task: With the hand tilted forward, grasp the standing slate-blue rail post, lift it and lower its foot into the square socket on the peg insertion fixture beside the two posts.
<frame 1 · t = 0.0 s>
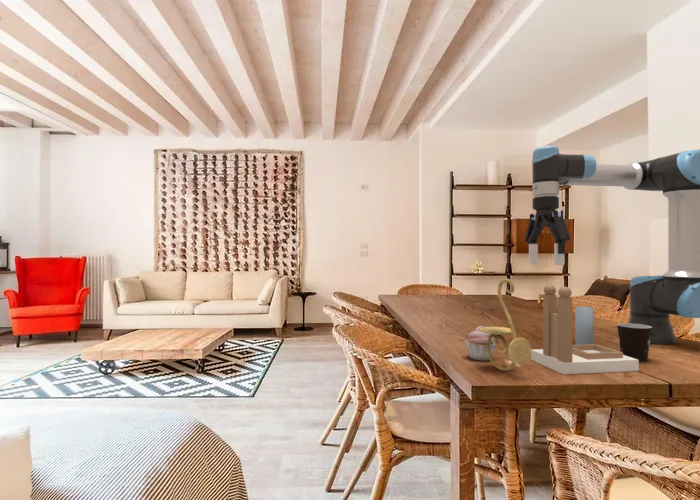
hand: (545, 264, 132), 28 cm above the table, tool pointing down, fingers open, 13 cm apart
coffee mug: (637, 359, 126), on the table
cupcake: (480, 359, 126), on the table
peg insertion fixture: (582, 365, 119), on the table
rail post: (584, 351, 135), on the table
wall sconce: (502, 371, 113), on the table
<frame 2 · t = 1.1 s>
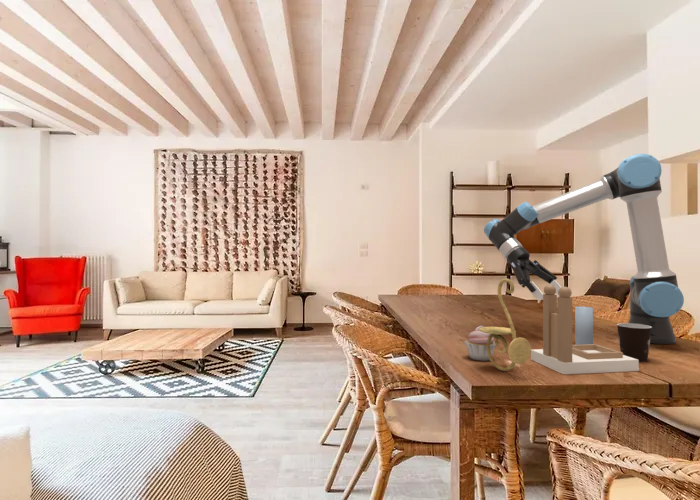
hand: (553, 297, 144), 16 cm above the table, tool tilted 45°, fingers open, 13 cm apart
nothing on the table moved.
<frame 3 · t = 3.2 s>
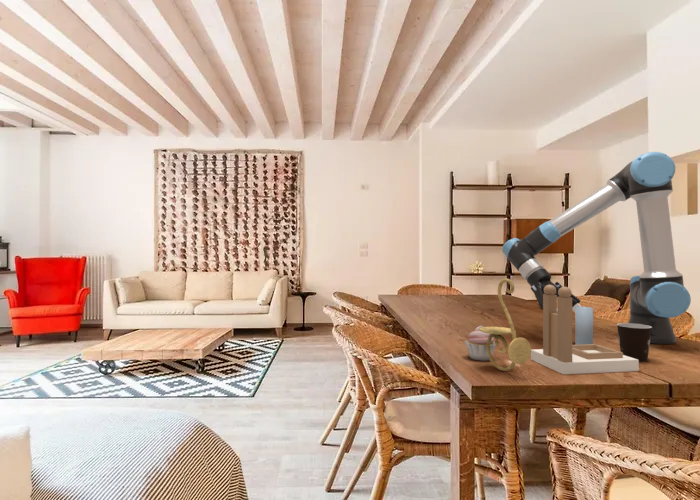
hand: (577, 323, 137), 9 cm above the table, tool tilted 45°, fingers open, 13 cm apart
nothing on the table moved.
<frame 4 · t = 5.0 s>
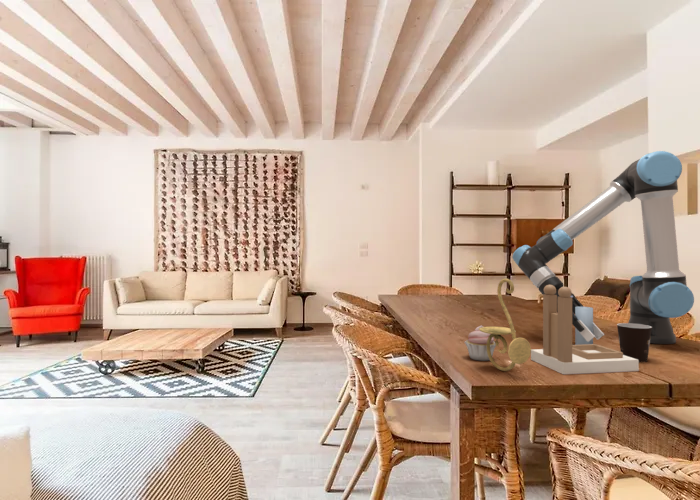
hand: (596, 338, 132), 5 cm above the table, tool tilted 45°, fingers closed on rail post, 5 cm apart
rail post: (584, 351, 135), on the table, touching gripper
everything else where it was.
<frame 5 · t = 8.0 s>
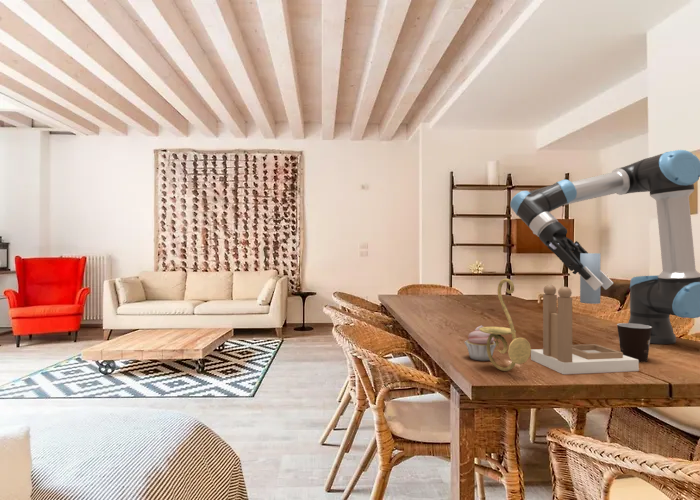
hand: (604, 286, 117), 22 cm above the table, tool tilted 45°, fingers closed on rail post, 5 cm apart
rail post: (590, 302, 120), point 18 cm above the table, touching gripper
everything else where it was.
when the fingers open (9 cm above the table, at t = 10.8 s): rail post drops 1 cm, resting on peg insertion fixture.
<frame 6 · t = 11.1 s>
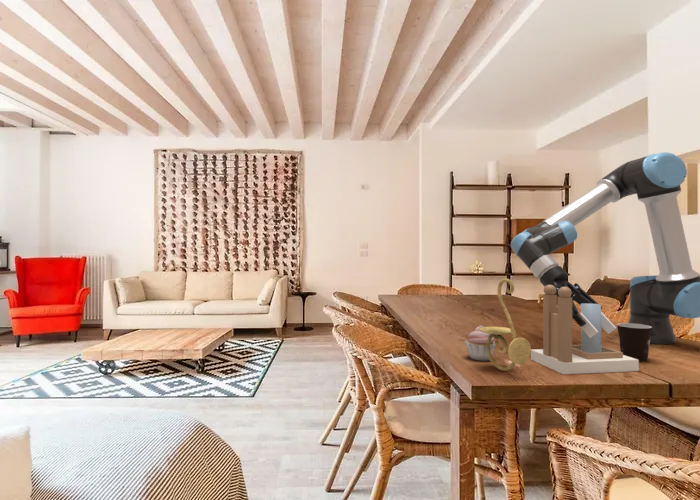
hand: (603, 332, 117), 10 cm above the table, tool tilted 45°, fingers open, 9 cm apart
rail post: (591, 353, 119), point 3 cm above the table, touching peg insertion fixture
everything else where it was.
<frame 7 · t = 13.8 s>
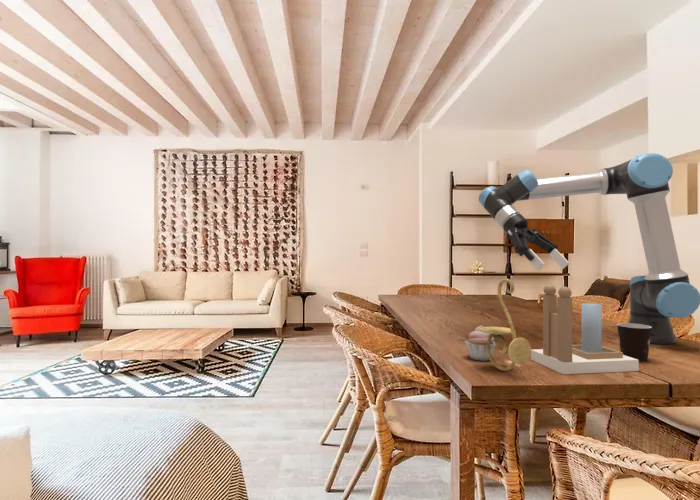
hand: (554, 266, 132), 27 cm above the table, tool tilted 45°, fingers open, 13 cm apart
nothing on the table moved.
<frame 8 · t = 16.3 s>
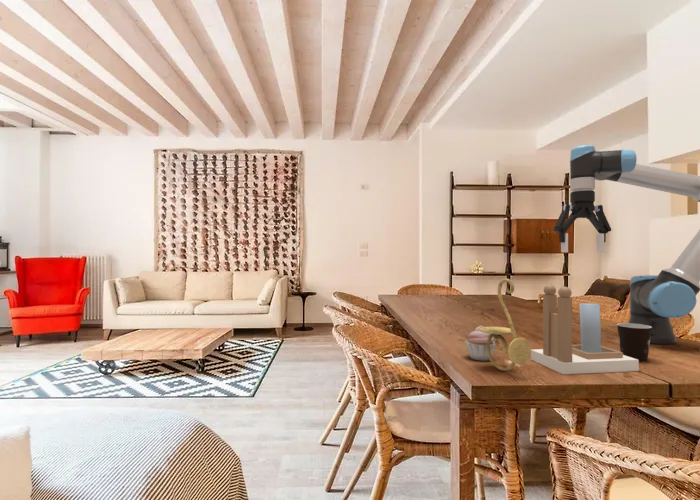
hand: (582, 252, 146), 32 cm above the table, tool pointing down, fingers open, 13 cm apart
nothing on the table moved.
at the end: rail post 0.1 cm from the target spot on the peg insertion fixture, point 3.1 cm above the peg insertion fixture's base; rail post tilted 1°; the gripper is holding nothing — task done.
